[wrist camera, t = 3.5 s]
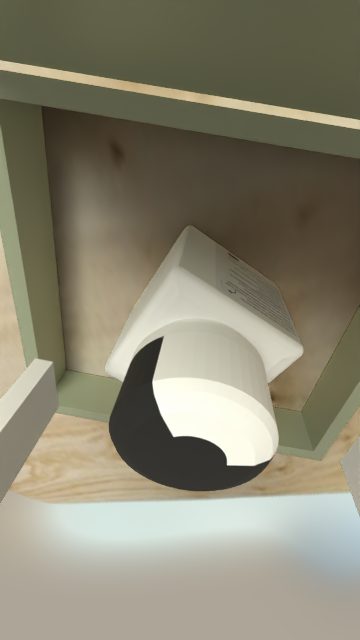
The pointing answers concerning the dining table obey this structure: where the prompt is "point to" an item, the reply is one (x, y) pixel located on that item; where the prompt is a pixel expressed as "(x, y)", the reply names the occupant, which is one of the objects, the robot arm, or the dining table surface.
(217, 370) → the container
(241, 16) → the lid
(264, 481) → the dining table surface
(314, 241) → the dining table surface
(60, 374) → the case
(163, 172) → the dining table surface
